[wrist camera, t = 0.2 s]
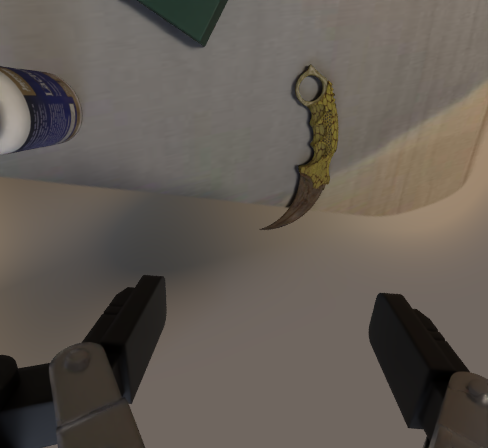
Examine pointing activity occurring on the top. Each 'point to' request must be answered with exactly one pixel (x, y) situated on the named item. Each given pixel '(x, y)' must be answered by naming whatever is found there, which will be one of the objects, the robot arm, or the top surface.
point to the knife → (323, 146)
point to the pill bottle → (36, 110)
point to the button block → (189, 15)
